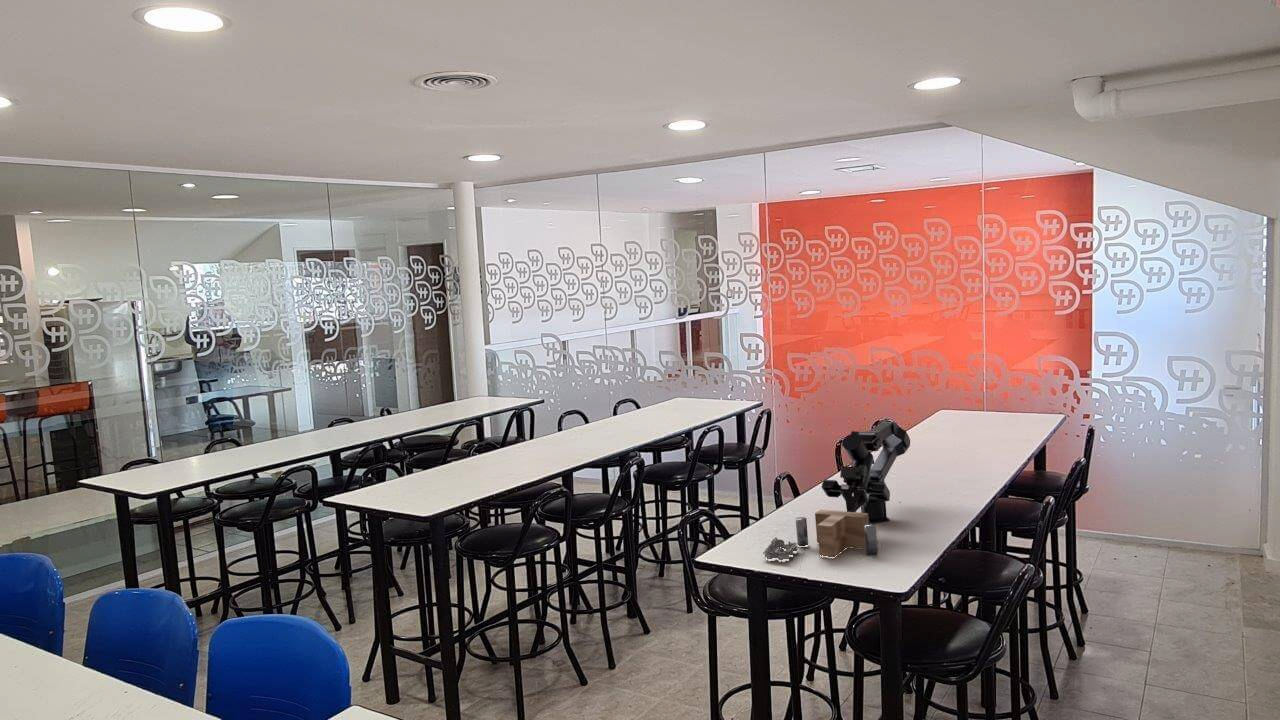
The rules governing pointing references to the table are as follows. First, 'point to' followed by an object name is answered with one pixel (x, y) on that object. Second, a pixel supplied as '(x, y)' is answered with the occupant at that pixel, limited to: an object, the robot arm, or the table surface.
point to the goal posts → (869, 535)
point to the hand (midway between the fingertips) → (849, 515)
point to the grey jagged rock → (780, 549)
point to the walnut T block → (840, 531)
